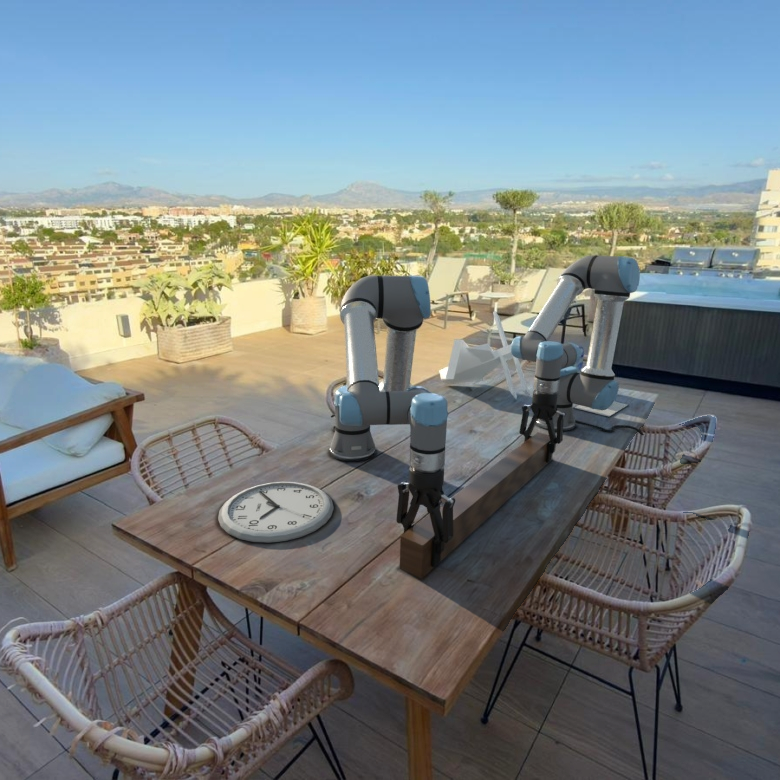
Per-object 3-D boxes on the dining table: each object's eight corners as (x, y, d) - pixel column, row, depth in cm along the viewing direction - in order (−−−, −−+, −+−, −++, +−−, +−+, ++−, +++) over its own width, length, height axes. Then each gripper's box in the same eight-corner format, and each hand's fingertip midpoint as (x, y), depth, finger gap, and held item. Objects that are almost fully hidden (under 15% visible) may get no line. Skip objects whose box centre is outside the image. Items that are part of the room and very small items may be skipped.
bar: (535, 455, 177) (537, 432, 175) (552, 459, 174) (554, 436, 171) (399, 568, 117) (400, 535, 115) (421, 579, 114) (422, 545, 111)
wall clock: (332, 534, 126) (204, 538, 124) (332, 540, 127) (205, 544, 124) (334, 477, 155) (230, 480, 152) (334, 482, 155) (231, 485, 153)
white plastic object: (461, 429, 252) (437, 405, 227) (444, 352, 274) (420, 323, 250) (535, 404, 240) (518, 377, 215) (510, 326, 262) (492, 293, 237)
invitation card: (608, 416, 214) (573, 407, 224) (608, 416, 214) (573, 408, 224) (628, 404, 229) (594, 396, 238) (628, 405, 229) (594, 397, 238)
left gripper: (380, 459, 114) (379, 550, 121) (457, 485, 103) (451, 583, 110) (400, 448, 120) (398, 535, 127) (475, 472, 109) (468, 566, 116)
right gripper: (512, 388, 167) (506, 454, 174) (572, 400, 156) (563, 470, 163) (521, 382, 173) (515, 447, 179) (580, 394, 162) (571, 462, 169)
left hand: (422, 557), depth 119 cm, fingers open, 6 cm apart
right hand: (538, 458), depth 171 cm, fingers open, 6 cm apart
